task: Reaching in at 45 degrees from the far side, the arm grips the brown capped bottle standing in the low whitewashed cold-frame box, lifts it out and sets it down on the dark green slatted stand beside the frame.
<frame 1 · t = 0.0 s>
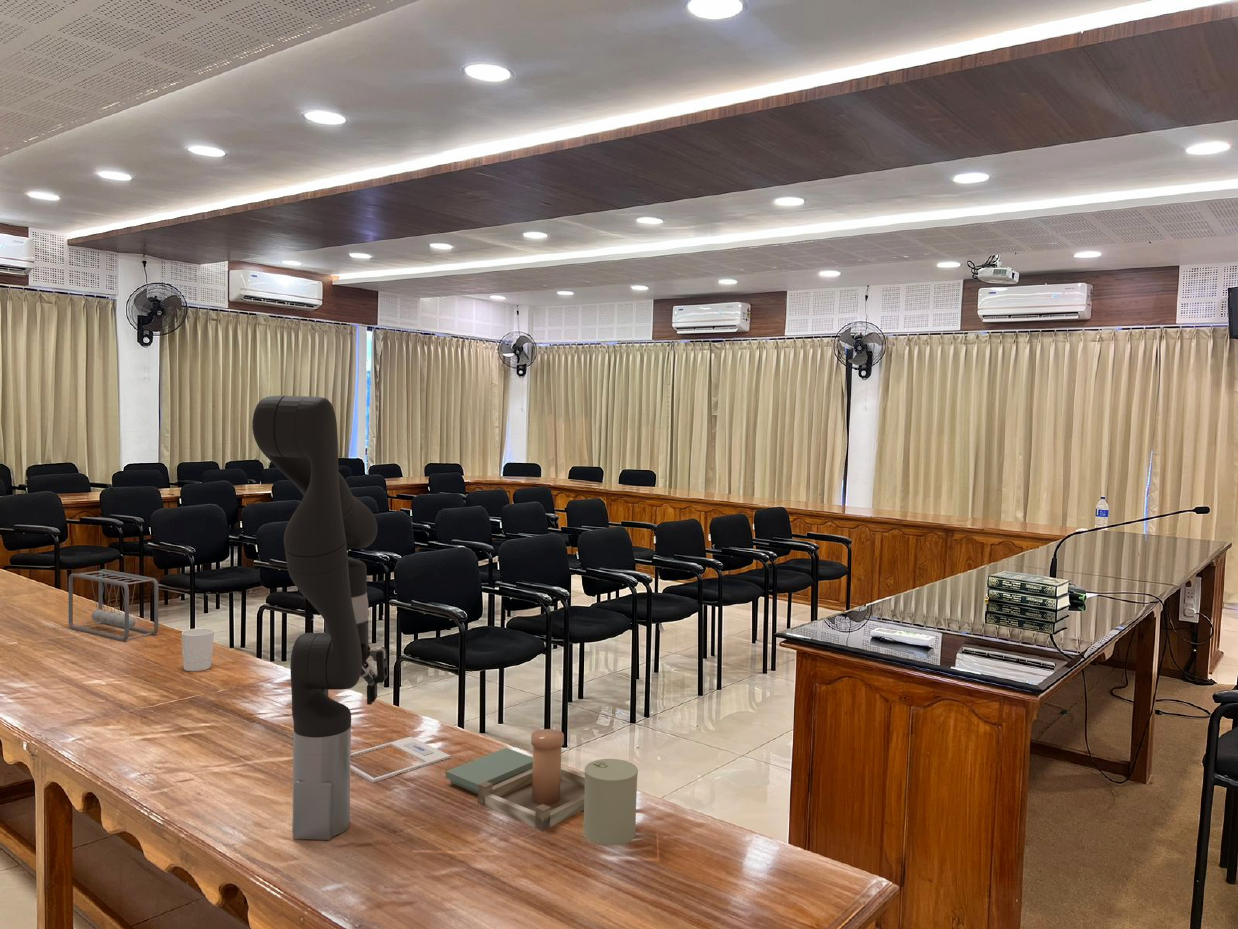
hand: (347, 702, 159), 17 cm above the table, tool pointing down, fingers open, 8 cm apart
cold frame: (545, 801, 159), on the table
white cup: (197, 668, 234), on the table
newton's cradle: (113, 632, 269), on the table
can: (609, 836, 147), on the table
photo frame: (393, 762, 177), on the table
brown capped bottle: (545, 798, 159), resting on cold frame
green stand: (492, 780, 168), on the table
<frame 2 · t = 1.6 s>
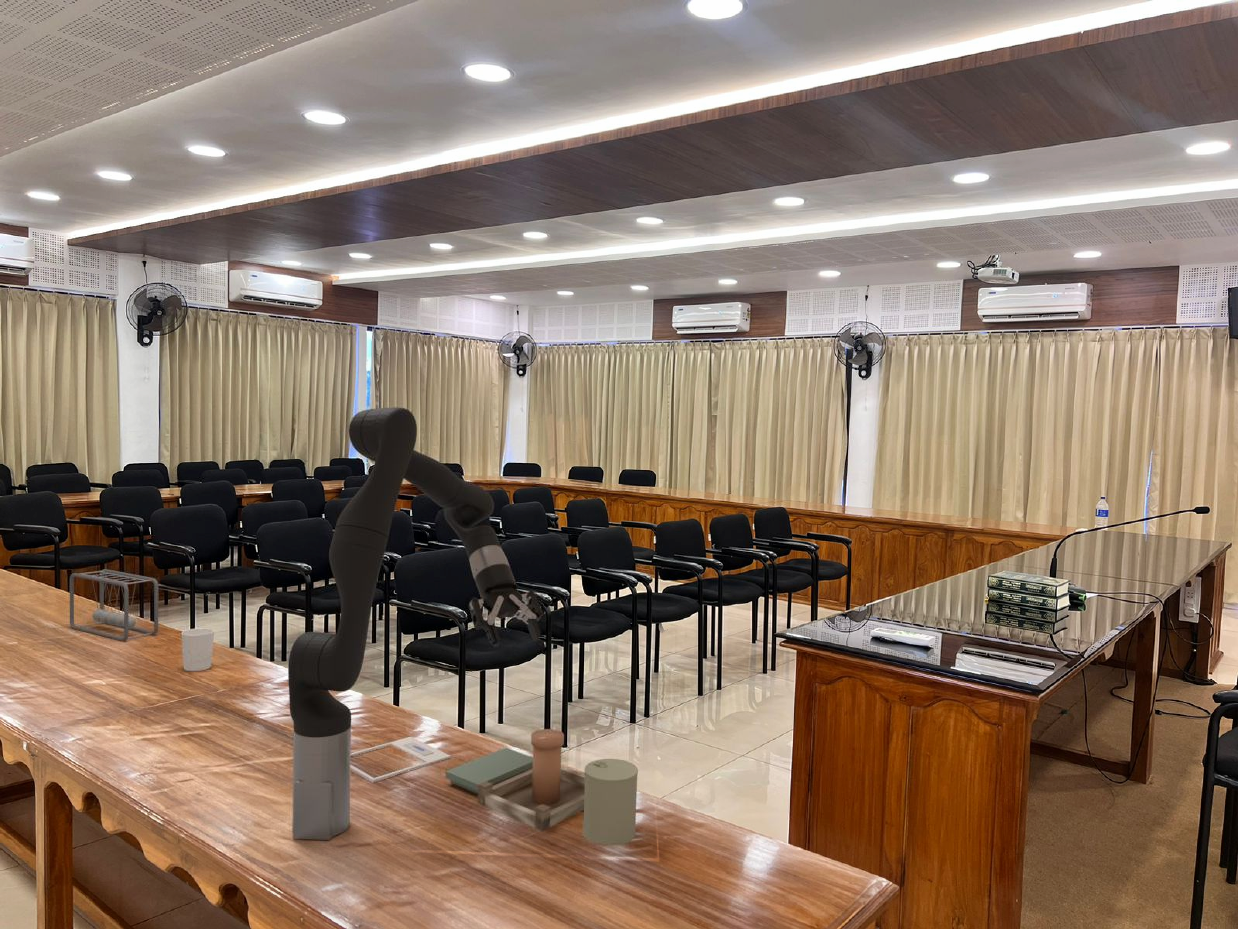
hand: (517, 642, 168), 27 cm above the table, tool tilted 45°, fingers open, 8 cm apart
nothing on the table moved.
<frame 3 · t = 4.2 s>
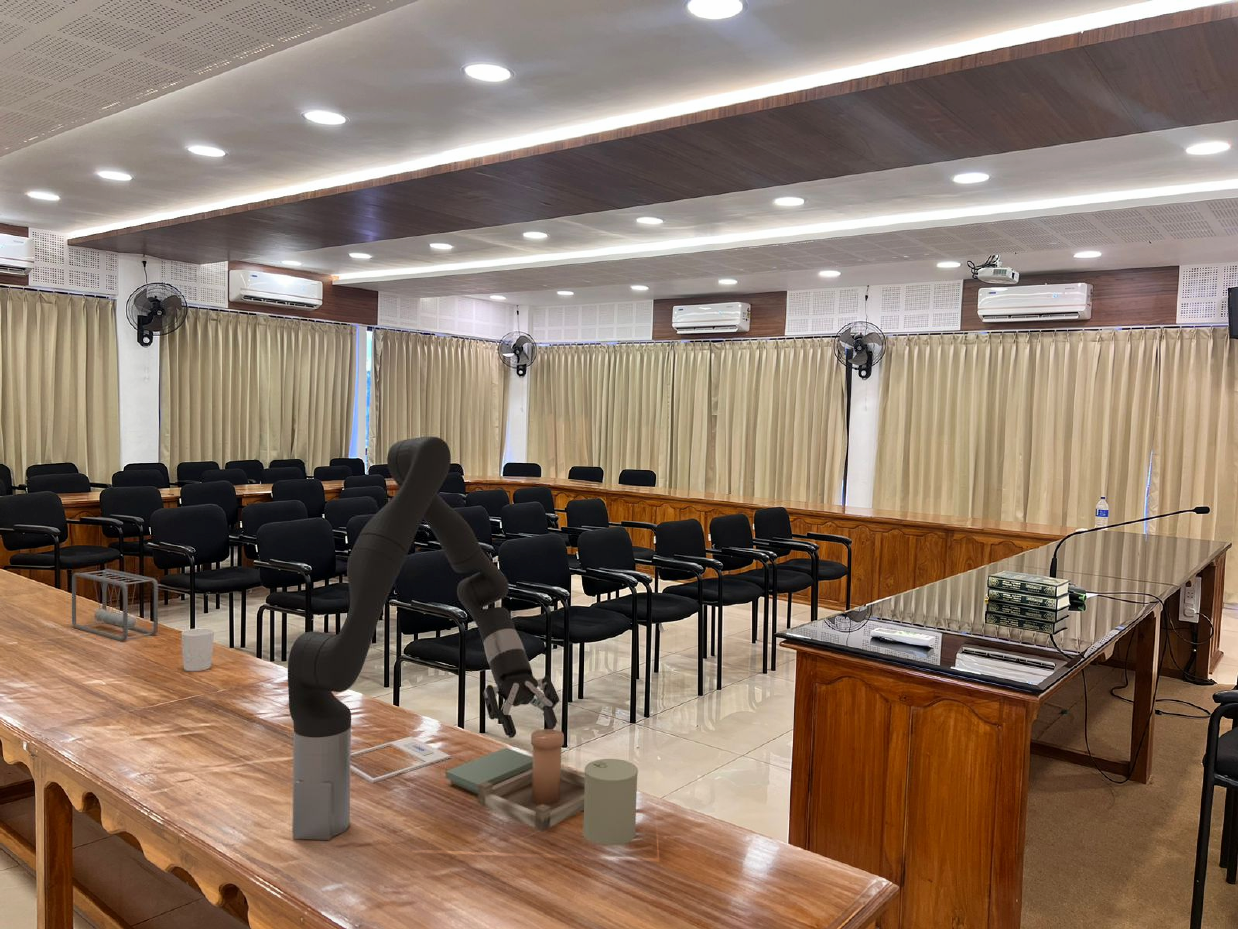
hand: (533, 732, 163), 11 cm above the table, tool tilted 45°, fingers open, 8 cm apart
nothing on the table moved.
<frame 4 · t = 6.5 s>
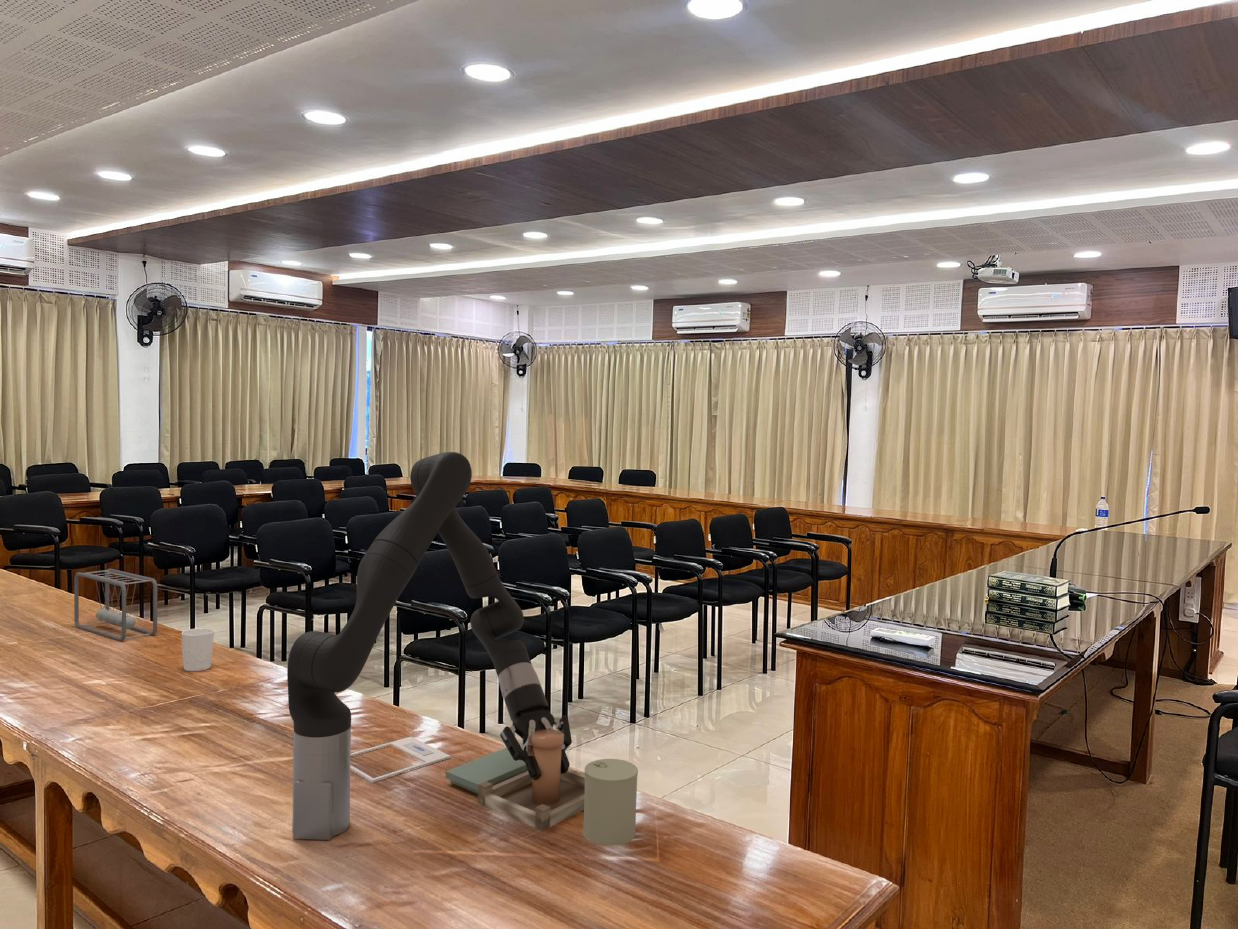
hand: (551, 774, 157), 6 cm above the table, tool tilted 45°, fingers closed on brown capped bottle, 5 cm apart
brown capped bottle: (545, 798, 159), point 1 cm above the table, touching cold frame, gripper
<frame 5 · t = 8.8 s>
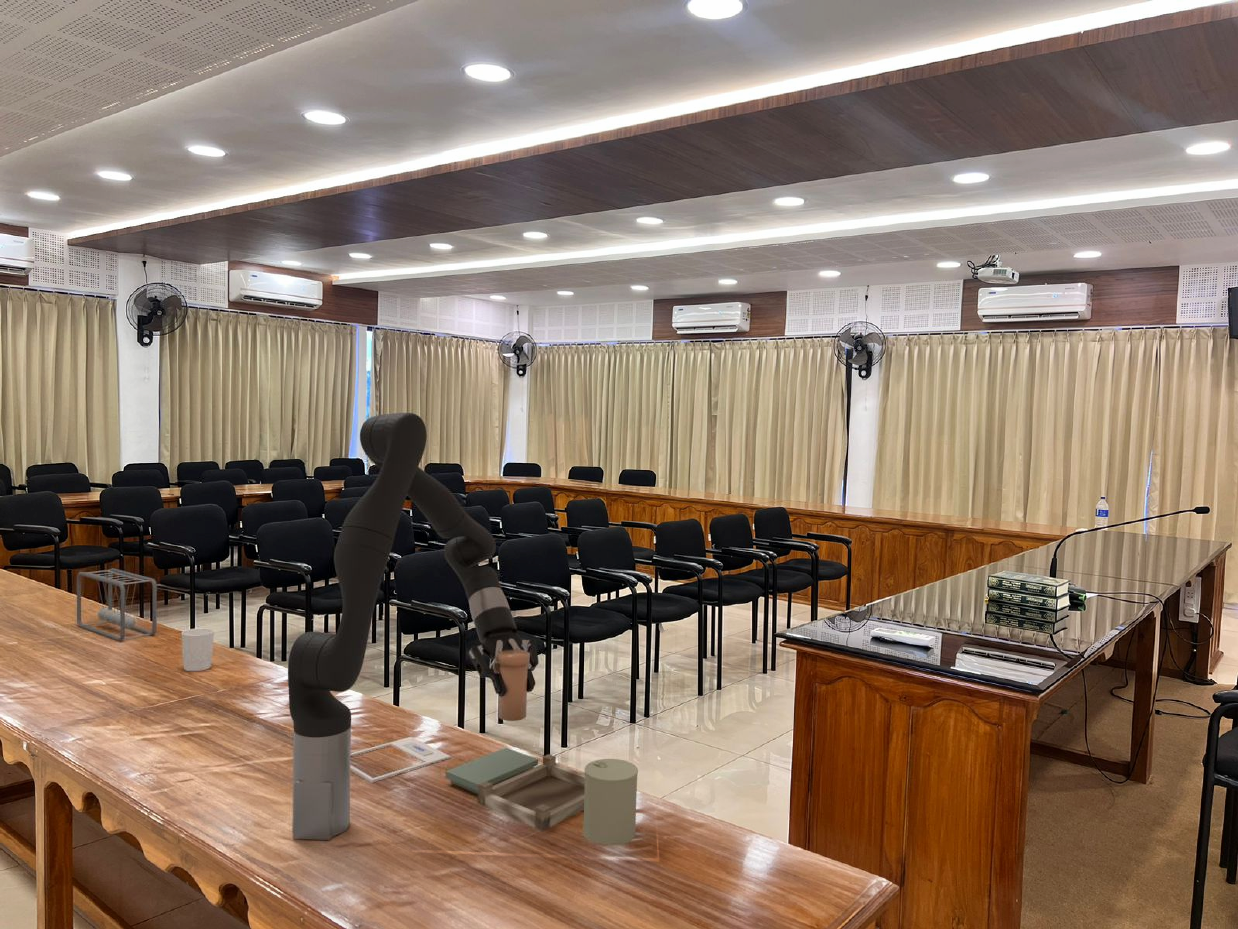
hand: (517, 691, 162), 19 cm above the table, tool tilted 45°, fingers closed on brown capped bottle, 5 cm apart
brown capped bottle: (512, 716, 164), point 14 cm above the table, touching gripper
when the fingers open (10 cm above the table, at t = 11.4 s): brown capped bottle drops 1 cm, resting on green stand.
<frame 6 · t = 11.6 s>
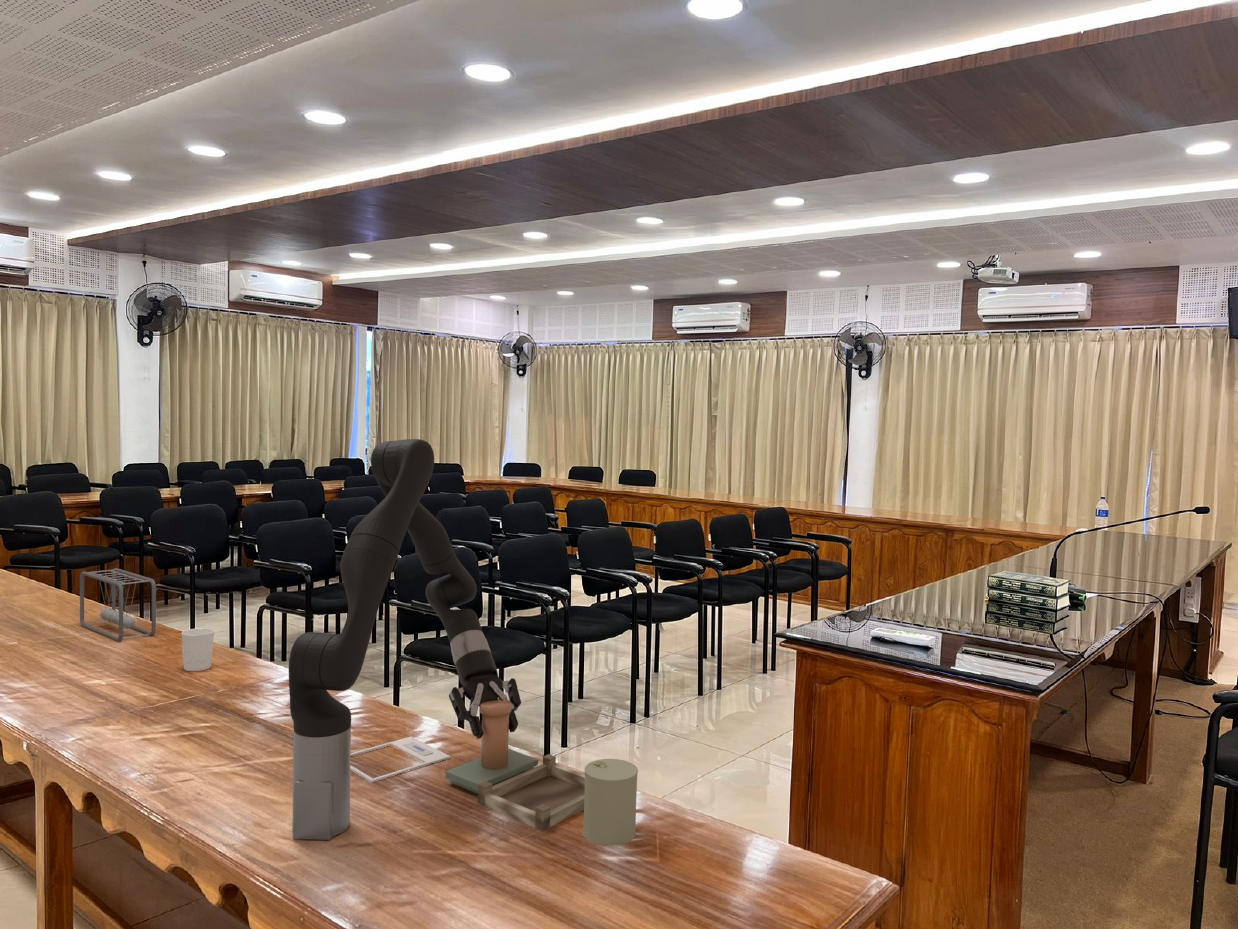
hand: (497, 733, 166), 10 cm above the table, tool tilted 45°, fingers open, 6 cm apart
brown capped bottle: (494, 764, 168), point 3 cm above the table, touching green stand, gripper
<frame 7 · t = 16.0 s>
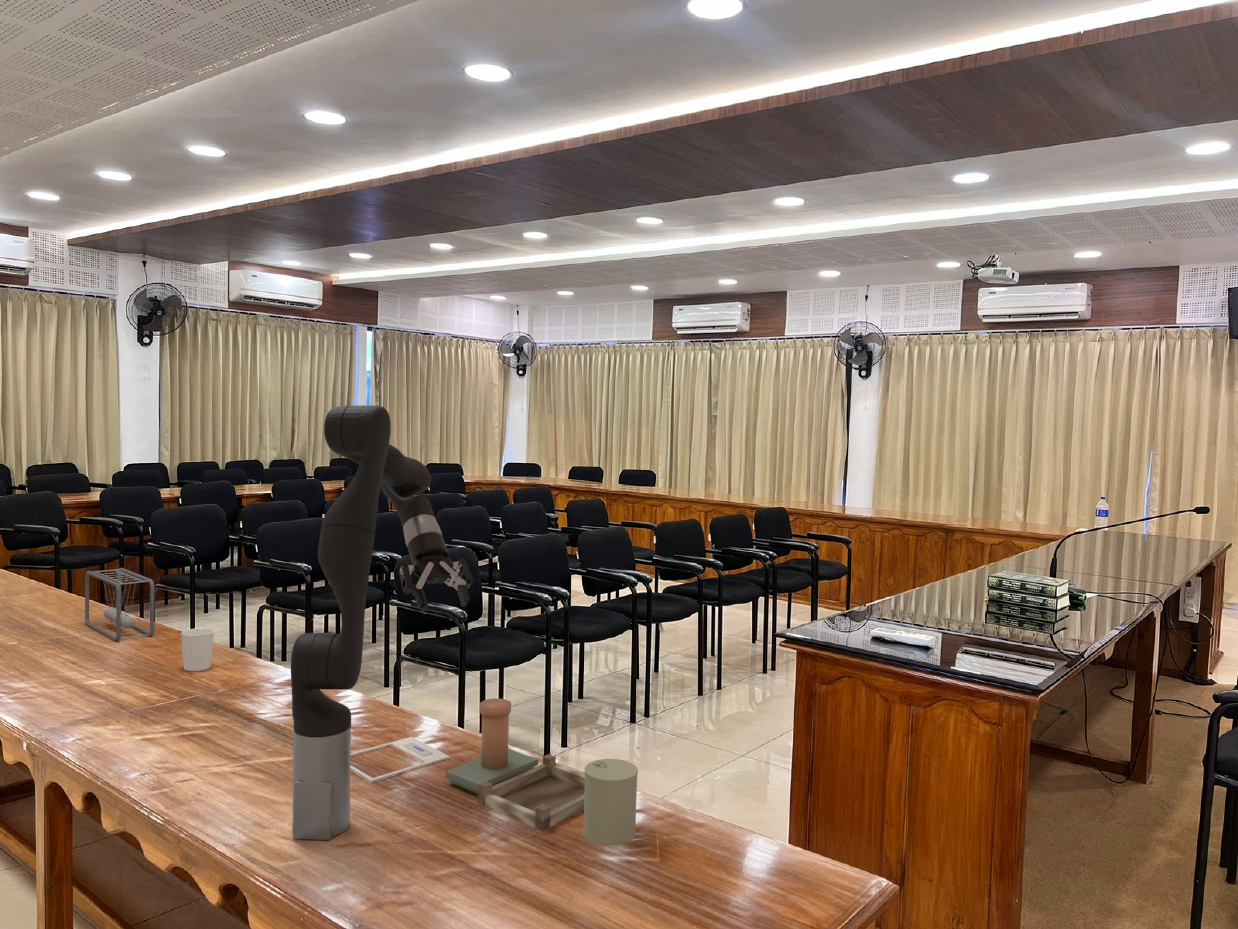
hand: (445, 606, 172), 33 cm above the table, tool tilted 45°, fingers open, 8 cm apart
brown capped bottle: (494, 764, 168), point 3 cm above the table, touching green stand
at the end: brown capped bottle inside the target area on the green stand (0.6 cm from its centre), point 3.1 cm above the green stand's base; brown capped bottle tilted 1°; the gripper is holding nothing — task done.
